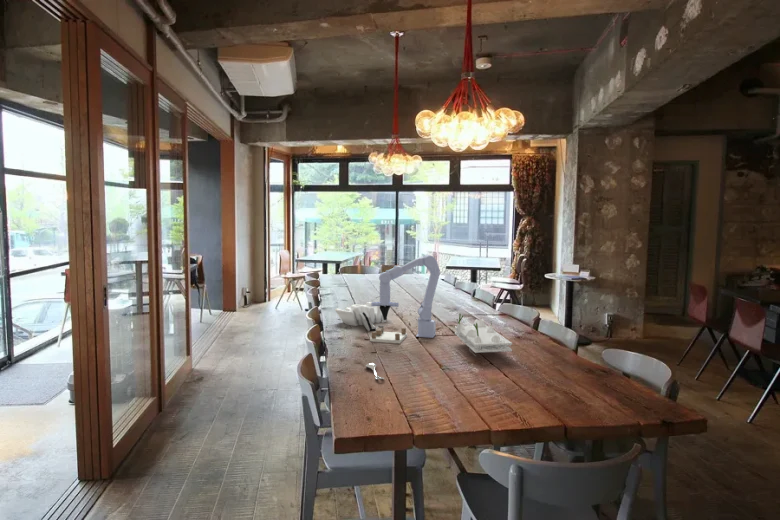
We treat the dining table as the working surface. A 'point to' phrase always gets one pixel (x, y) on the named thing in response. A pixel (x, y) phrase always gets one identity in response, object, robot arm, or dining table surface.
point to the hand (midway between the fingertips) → (385, 319)
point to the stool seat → (389, 336)
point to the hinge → (367, 321)
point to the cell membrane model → (481, 337)
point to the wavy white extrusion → (353, 314)
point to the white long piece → (372, 366)
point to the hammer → (380, 330)
